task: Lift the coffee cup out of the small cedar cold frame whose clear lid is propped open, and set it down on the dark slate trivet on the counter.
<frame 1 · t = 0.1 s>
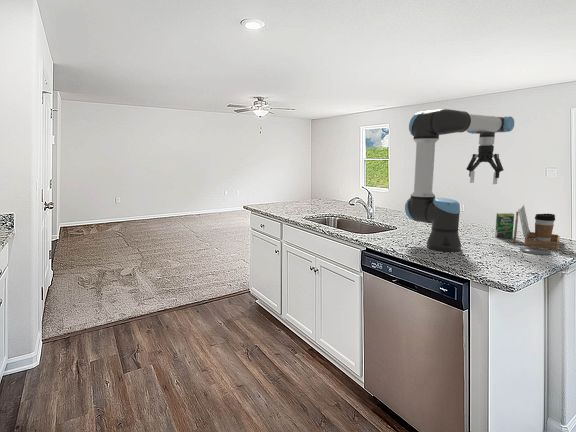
hand: (483, 183, 207), 28 cm above the worktop, tool pointing down, fingers open, 13 cm apart
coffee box: (503, 237, 198), on the worktop
cold frame: (542, 243, 184), on the worktop
coffee cup: (541, 244, 184), resting in cold frame
trivet: (535, 251, 169), on the worktop
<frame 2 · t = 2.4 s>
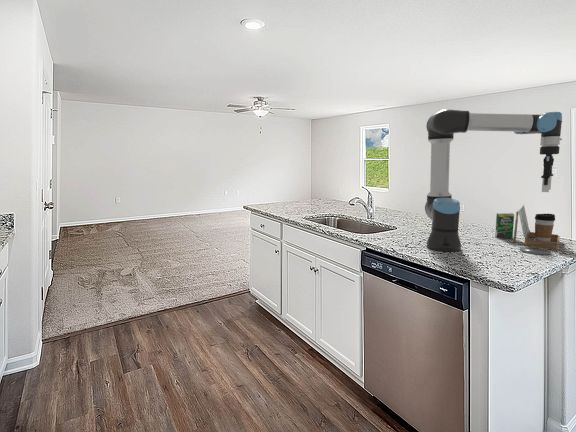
hand: (546, 190, 177), 27 cm above the worktop, tool pointing down, fingers open, 13 cm apart
nothing on the worktop moved.
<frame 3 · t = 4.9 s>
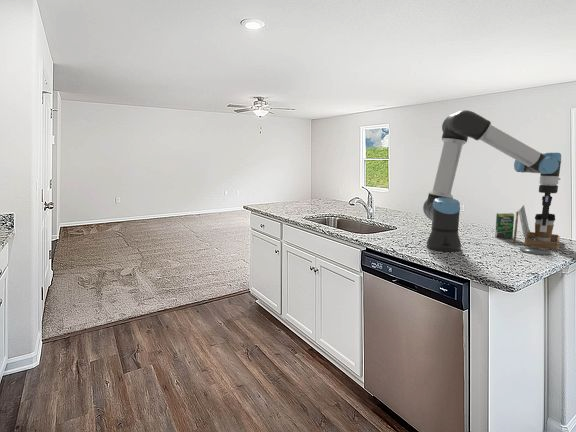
hand: (543, 230, 182), 7 cm above the worktop, tool pointing down, fingers closed on coffee cup, 8 cm apart
coffee cup: (541, 244, 184), resting in cold frame, touching gripper
everything else where it was.
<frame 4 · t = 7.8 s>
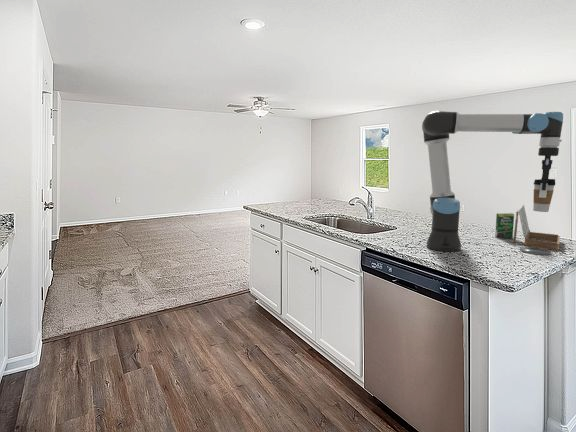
hand: (542, 196, 171), 25 cm above the worktop, tool pointing down, fingers closed on coffee cup, 8 cm apart
coffee cup: (540, 211, 173), point 18 cm above the worktop, touching gripper
everything else where it was.
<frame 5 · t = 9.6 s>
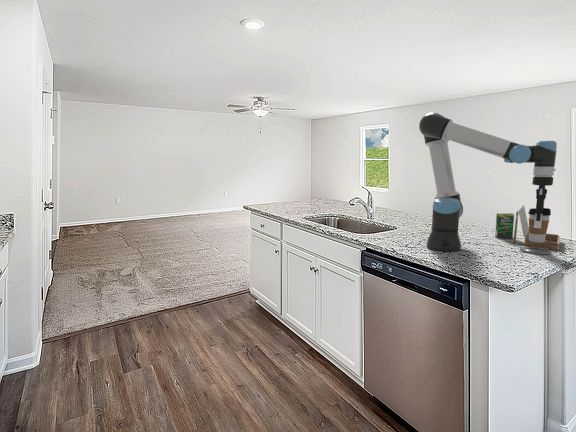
hand: (537, 226, 167), 12 cm above the worktop, tool pointing down, fingers closed on coffee cup, 8 cm apart
coffee cup: (536, 241, 168), point 5 cm above the worktop, touching gripper
everything else where it was.
when the fingers open (8 cm above the worktop, at t = 10.7 s): coffee cup drops 1 cm, resting on trivet.
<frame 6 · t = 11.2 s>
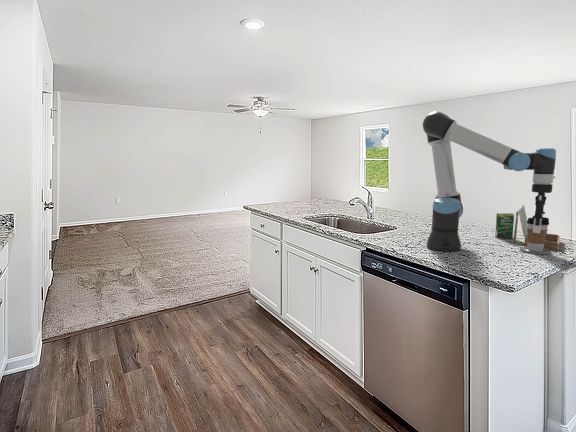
hand: (537, 230, 167), 10 cm above the worktop, tool pointing down, fingers open, 13 cm apart
coffee cup: (535, 250, 169), resting on trivet
everything else where it was.
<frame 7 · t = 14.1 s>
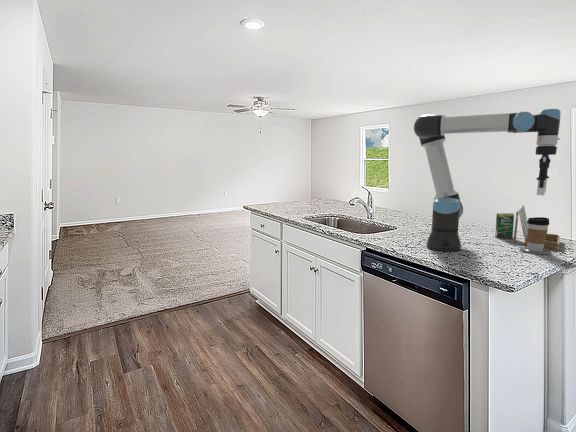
hand: (541, 194, 165), 26 cm above the worktop, tool pointing down, fingers open, 13 cm apart
nothing on the worktop moved.
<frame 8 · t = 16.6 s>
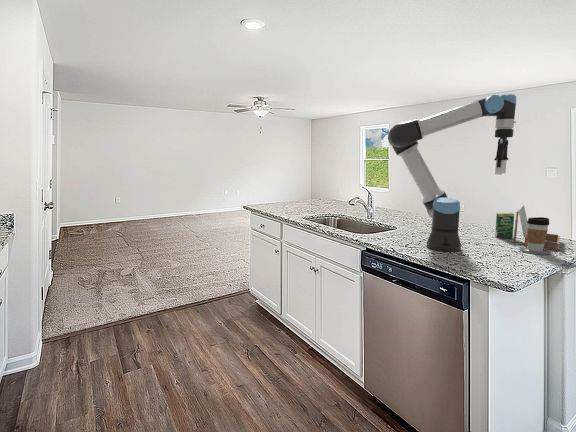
hand: (500, 174, 178), 35 cm above the worktop, tool pointing down, fingers open, 13 cm apart
nothing on the worktop moved.
at the end: coffee cup 0.1 cm from the trivet (horizontally); coffee cup tilted 0°; coffee cup resting on trivet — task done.
